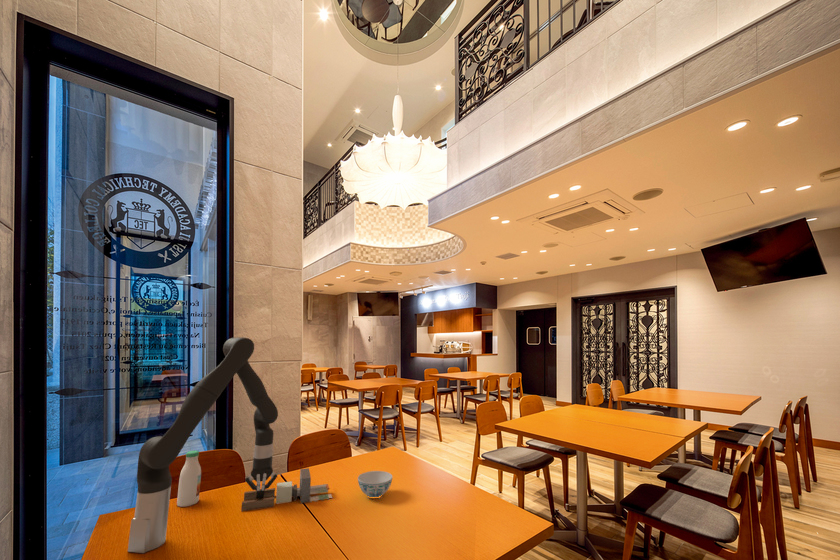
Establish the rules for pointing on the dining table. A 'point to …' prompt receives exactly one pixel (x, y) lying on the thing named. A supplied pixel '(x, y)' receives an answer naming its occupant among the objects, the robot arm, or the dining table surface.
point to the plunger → (311, 490)
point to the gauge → (268, 493)
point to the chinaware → (375, 482)
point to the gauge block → (284, 492)
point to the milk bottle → (189, 480)
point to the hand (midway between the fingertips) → (259, 499)
